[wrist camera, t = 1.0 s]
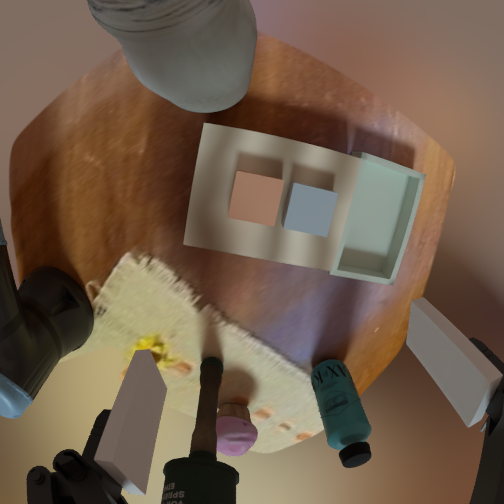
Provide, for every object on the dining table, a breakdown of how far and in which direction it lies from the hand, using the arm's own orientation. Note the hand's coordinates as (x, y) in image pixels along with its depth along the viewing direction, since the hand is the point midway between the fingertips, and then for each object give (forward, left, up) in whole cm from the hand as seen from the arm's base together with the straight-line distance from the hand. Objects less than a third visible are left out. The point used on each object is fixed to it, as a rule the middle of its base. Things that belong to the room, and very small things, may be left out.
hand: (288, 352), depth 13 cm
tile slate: (+5, +4, -22) cm, 22 cm away
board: (+1, +4, -27) cm, 27 cm away
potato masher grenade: (-2, -24, -27) cm, 36 cm away
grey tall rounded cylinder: (-9, +17, -27) cm, 33 cm away
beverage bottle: (+17, -22, -27) cm, 38 cm away
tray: (+15, +4, -27) cm, 31 cm away
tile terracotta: (-1, +4, -22) cm, 22 cm away
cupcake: (+3, -35, -27) cm, 44 cm away
